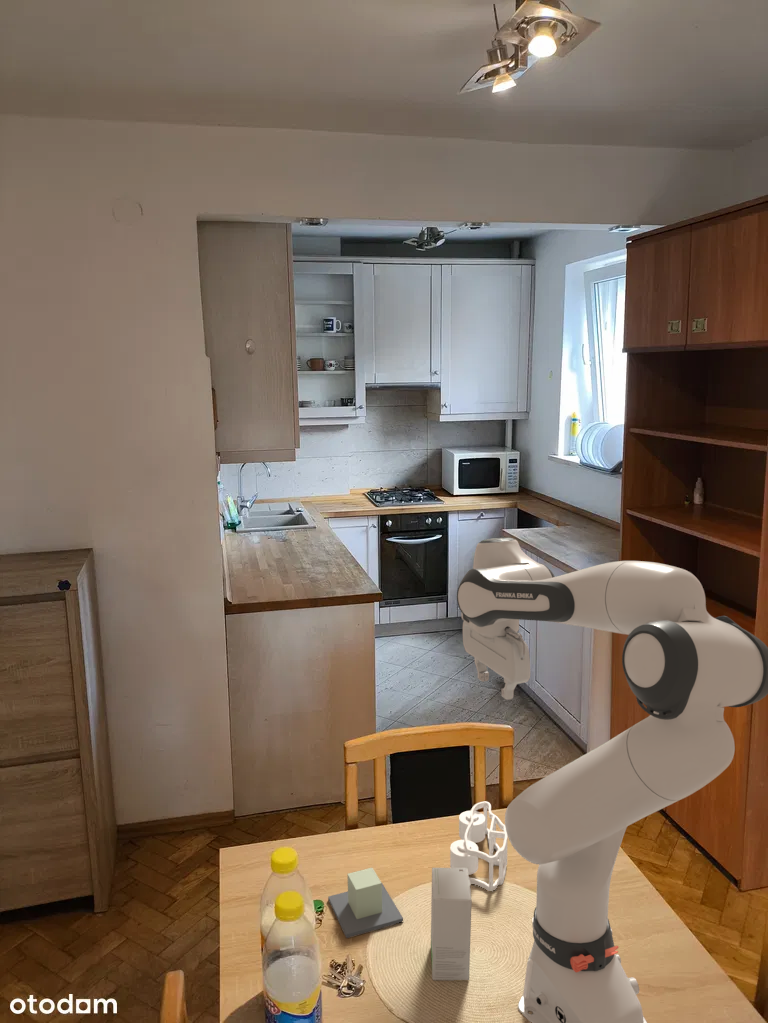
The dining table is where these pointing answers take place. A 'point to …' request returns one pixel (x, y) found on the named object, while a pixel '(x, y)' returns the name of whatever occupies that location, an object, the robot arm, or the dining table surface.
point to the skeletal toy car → (467, 851)
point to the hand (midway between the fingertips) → (494, 688)
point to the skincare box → (450, 923)
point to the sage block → (364, 893)
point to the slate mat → (365, 924)
